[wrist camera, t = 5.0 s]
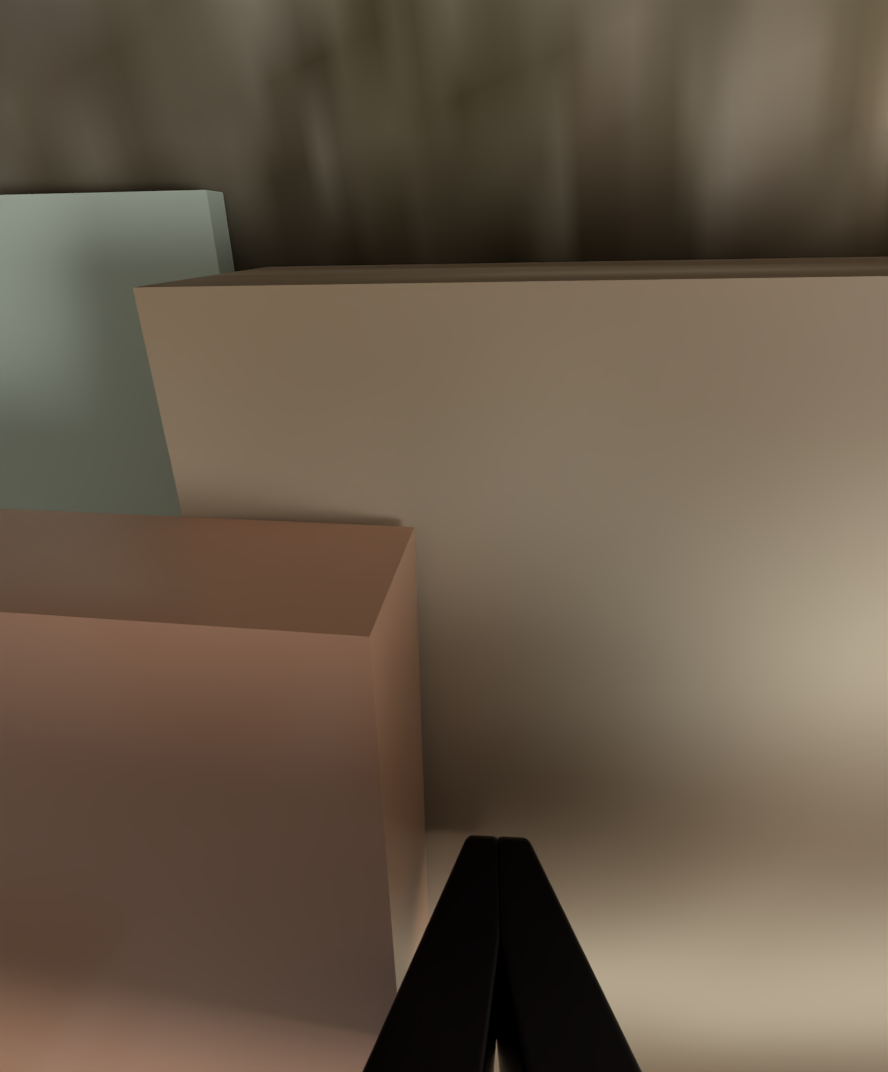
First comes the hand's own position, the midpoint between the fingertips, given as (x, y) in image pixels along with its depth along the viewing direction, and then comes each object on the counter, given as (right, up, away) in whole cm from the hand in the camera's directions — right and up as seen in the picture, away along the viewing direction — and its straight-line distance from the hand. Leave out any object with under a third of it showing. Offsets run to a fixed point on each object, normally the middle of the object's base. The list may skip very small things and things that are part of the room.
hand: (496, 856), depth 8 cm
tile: (-4, 0, +1) cm, 4 cm away
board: (+5, +2, +4) cm, 6 cm away
